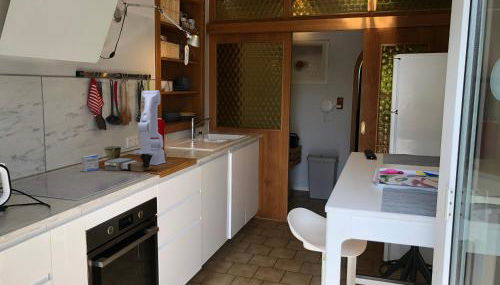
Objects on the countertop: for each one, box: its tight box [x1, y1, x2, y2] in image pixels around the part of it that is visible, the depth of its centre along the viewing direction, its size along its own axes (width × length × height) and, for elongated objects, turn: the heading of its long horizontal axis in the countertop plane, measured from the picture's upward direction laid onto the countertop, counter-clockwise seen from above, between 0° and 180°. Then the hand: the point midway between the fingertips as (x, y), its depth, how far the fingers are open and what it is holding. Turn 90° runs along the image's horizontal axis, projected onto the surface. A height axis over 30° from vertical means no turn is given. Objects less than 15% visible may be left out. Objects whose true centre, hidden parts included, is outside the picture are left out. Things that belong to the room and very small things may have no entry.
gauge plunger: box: [116, 160, 140, 170], centre depth 242 cm, size 12×9×4 cm
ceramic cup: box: [103, 145, 122, 161], centre depth 263 cm, size 13×10×10 cm
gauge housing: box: [104, 157, 134, 172], centre depth 246 cm, size 12×10×5 cm
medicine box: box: [80, 154, 100, 173], centre depth 242 cm, size 8×4×9 cm, turn 143°
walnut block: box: [129, 161, 149, 172], centre depth 239 cm, size 5×8×4 cm, turn 62°
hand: (146, 167), depth 237 cm, fingers closed
